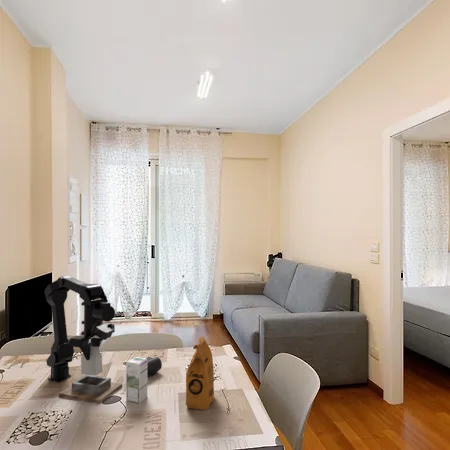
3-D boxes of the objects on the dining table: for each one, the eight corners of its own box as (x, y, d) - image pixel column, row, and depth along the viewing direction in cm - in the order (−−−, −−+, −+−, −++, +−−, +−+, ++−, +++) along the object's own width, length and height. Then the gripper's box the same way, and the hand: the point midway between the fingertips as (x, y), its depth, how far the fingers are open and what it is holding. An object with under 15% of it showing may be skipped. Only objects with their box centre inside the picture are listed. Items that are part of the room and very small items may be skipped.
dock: (59, 396, 129) (59, 385, 129) (84, 381, 142) (84, 370, 142) (99, 403, 123) (99, 391, 123) (122, 386, 136) (122, 376, 137)
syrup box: (147, 396, 128) (148, 357, 129) (139, 404, 123) (139, 363, 123) (134, 394, 130) (135, 355, 131) (125, 401, 125) (125, 361, 125)
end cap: (145, 381, 142) (145, 365, 142) (133, 377, 145) (133, 361, 145) (162, 373, 150) (162, 357, 150) (150, 369, 154) (150, 354, 154)
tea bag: (96, 375, 130) (95, 348, 130) (81, 373, 132) (80, 347, 132) (102, 371, 133) (101, 345, 134) (87, 370, 135) (87, 344, 136)
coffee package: (181, 409, 119) (181, 345, 120) (192, 392, 131) (192, 335, 132) (208, 412, 117) (208, 347, 118) (217, 395, 129) (217, 336, 130)
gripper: (93, 325, 122) (92, 370, 121) (123, 313, 139) (123, 352, 139) (67, 323, 125) (67, 366, 125) (100, 311, 143) (100, 349, 143)
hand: (91, 358), depth 133 cm, fingers closed on tea bag, 4 cm apart
